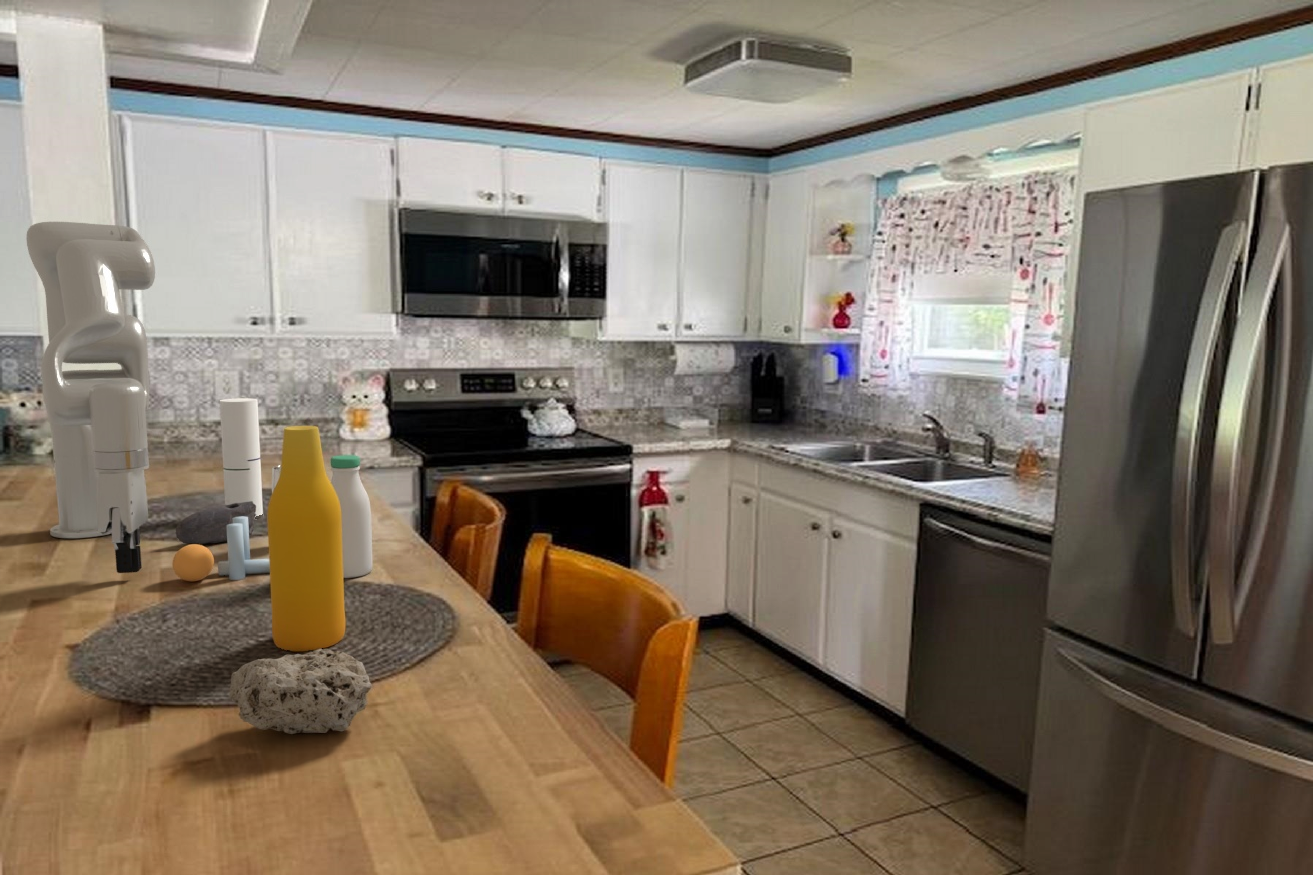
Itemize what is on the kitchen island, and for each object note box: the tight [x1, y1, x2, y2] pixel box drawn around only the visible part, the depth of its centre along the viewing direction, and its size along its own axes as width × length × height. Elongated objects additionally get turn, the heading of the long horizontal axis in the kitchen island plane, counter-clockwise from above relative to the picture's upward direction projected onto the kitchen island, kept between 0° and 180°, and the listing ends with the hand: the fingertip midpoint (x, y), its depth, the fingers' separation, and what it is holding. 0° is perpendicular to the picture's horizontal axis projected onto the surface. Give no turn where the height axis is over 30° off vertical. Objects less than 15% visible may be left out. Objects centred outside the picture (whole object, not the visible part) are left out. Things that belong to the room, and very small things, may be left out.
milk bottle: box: [330, 454, 374, 579], centre depth 149 cm, size 8×8×20 cm
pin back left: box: [226, 523, 246, 581], centre depth 145 cm, size 2×2×9 cm
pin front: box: [217, 558, 270, 577], centre depth 149 cm, size 2×2×9 cm
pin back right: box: [232, 516, 251, 560], centre depth 150 cm, size 2×2×9 cm
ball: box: [172, 544, 215, 582], centre depth 144 cm, size 6×6×6 cm
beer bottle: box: [266, 425, 347, 652], centre depth 118 cm, size 9×9×29 cm
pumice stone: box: [228, 648, 373, 735], centre depth 95 cm, size 14×12×8 cm
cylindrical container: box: [219, 397, 264, 517], centre depth 186 cm, size 7×7×25 cm
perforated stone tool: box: [175, 501, 256, 545], centre depth 168 cm, size 15×5×7 cm, turn 133°
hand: (129, 570), depth 144 cm, fingers closed
